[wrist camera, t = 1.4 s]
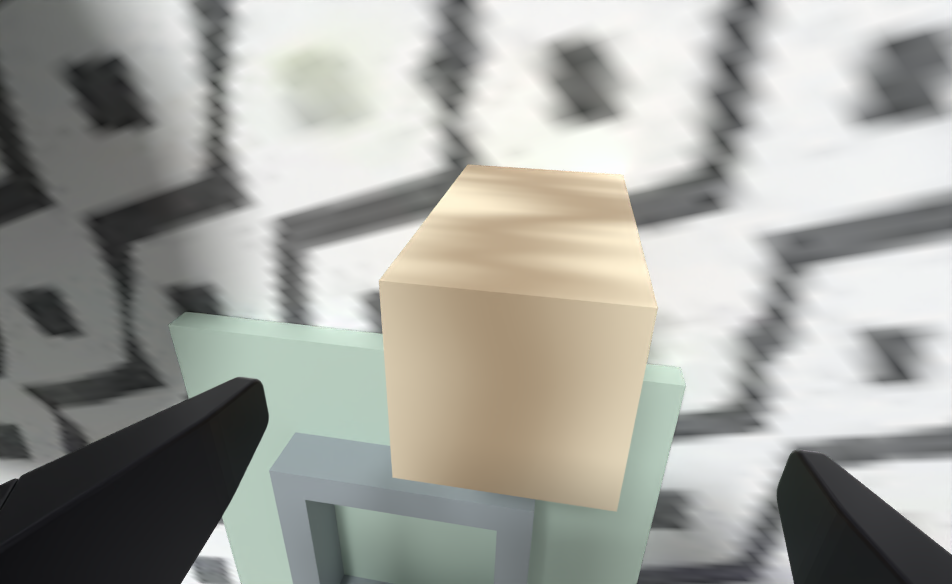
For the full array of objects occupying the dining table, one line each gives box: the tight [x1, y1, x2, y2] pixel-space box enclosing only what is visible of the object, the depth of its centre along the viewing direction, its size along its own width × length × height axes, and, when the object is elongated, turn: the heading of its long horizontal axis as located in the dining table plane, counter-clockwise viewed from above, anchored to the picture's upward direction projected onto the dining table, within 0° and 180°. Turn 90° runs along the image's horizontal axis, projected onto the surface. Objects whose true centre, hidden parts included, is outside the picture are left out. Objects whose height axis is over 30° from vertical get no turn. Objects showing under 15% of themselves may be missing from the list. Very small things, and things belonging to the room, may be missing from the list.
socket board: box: [168, 312, 686, 584], centre depth 22 cm, size 18×18×3 cm
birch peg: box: [379, 165, 658, 512], centre depth 13 cm, size 4×4×8 cm
